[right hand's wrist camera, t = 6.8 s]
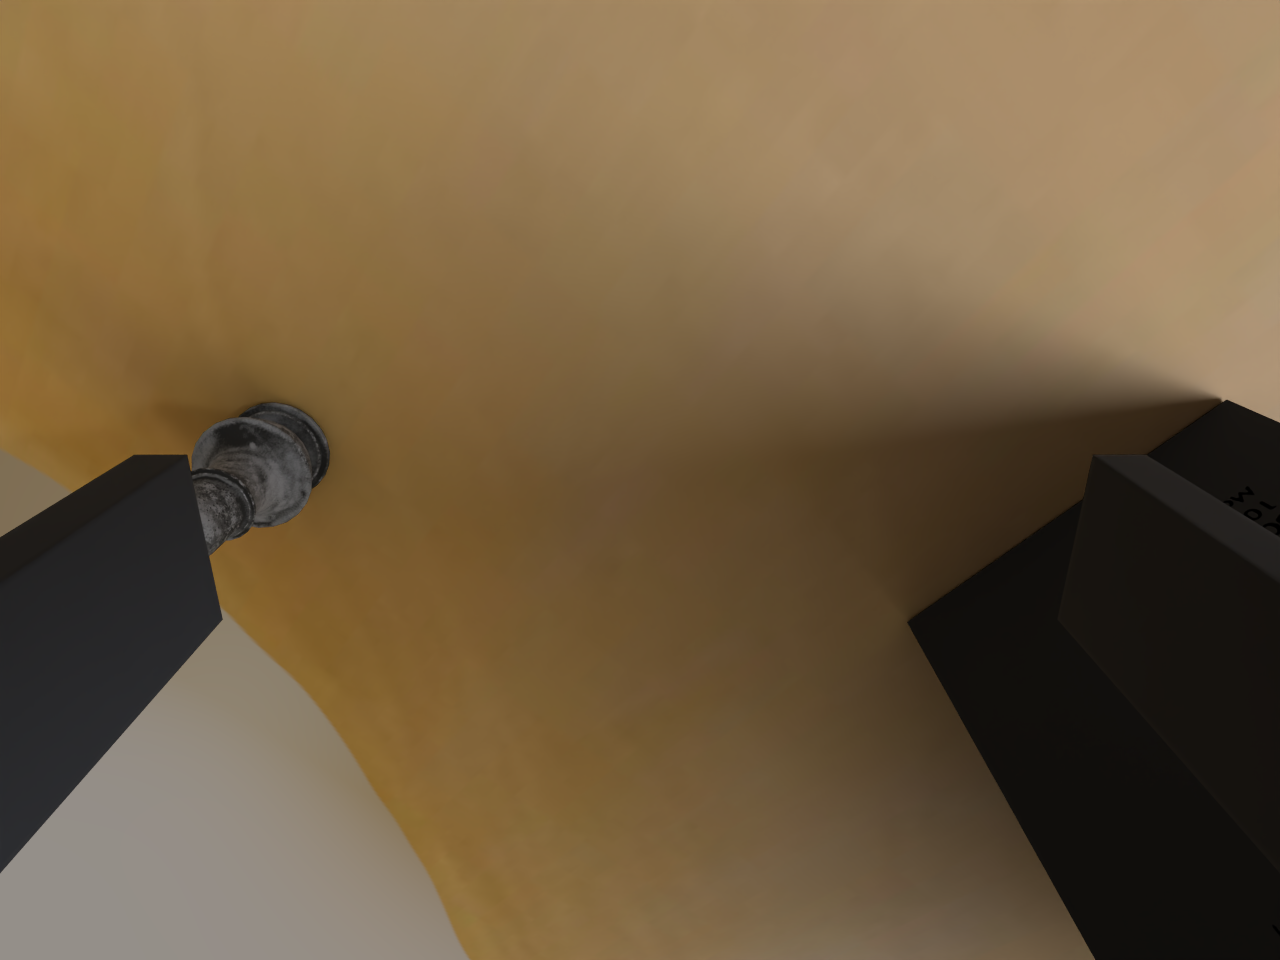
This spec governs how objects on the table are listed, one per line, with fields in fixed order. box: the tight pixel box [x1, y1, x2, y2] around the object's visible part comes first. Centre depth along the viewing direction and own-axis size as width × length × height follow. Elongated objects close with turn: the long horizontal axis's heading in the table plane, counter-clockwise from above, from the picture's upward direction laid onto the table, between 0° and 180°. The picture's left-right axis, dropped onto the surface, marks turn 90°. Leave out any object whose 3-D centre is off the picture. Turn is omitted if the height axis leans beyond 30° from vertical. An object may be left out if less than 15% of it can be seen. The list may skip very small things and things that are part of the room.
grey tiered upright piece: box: [191, 402, 330, 555], centre depth 39 cm, size 6×6×12 cm
